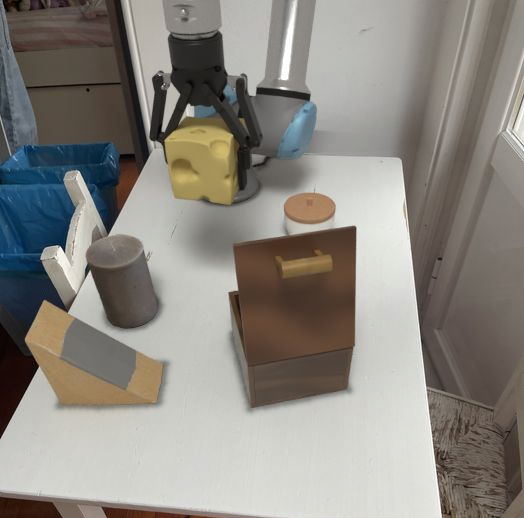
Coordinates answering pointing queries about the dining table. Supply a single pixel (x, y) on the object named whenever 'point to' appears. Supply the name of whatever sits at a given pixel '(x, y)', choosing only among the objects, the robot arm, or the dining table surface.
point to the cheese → (203, 160)
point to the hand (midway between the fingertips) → (210, 184)
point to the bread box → (289, 370)
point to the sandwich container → (90, 362)
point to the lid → (297, 293)
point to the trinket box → (308, 213)
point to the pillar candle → (122, 280)
